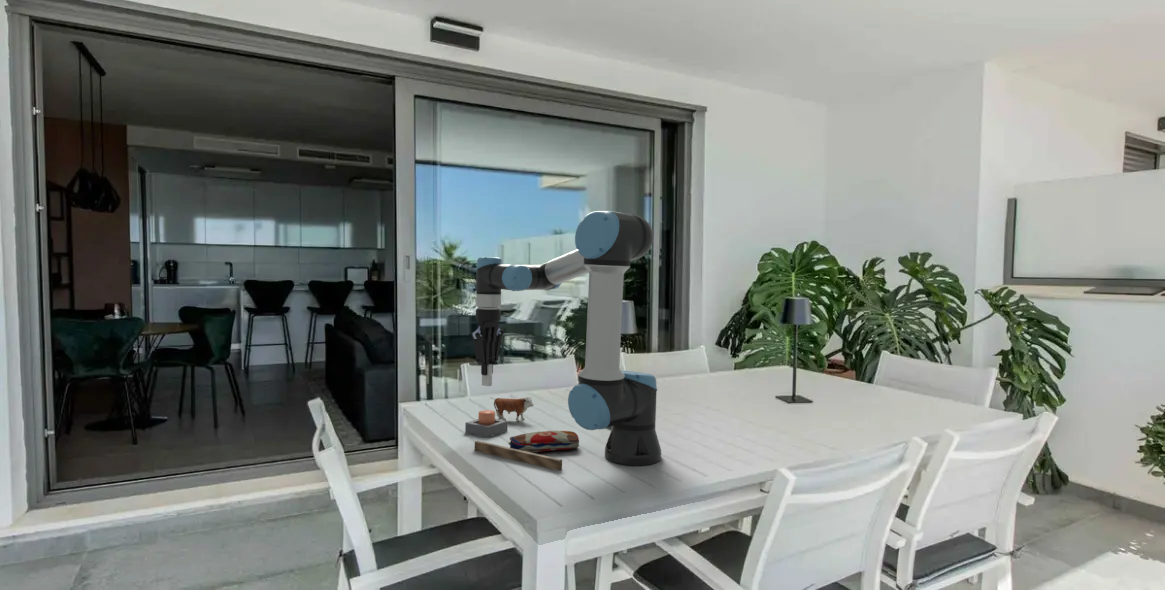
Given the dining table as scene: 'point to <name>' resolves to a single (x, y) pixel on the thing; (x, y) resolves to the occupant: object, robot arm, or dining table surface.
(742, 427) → the dining table surface
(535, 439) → the pencil case
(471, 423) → the button housing
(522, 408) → the bull figurine
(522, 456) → the rail
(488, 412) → the button
